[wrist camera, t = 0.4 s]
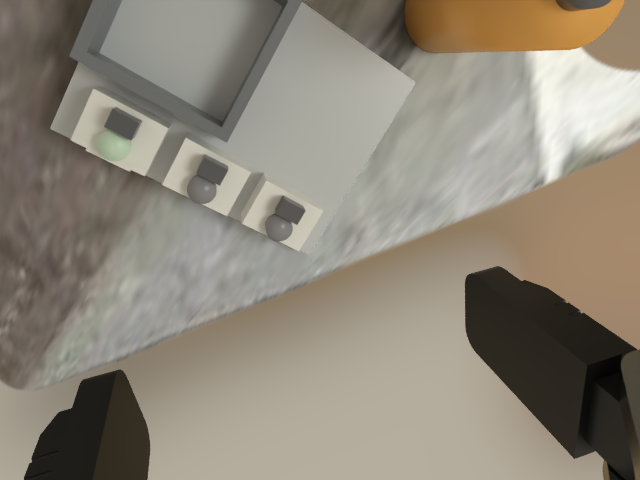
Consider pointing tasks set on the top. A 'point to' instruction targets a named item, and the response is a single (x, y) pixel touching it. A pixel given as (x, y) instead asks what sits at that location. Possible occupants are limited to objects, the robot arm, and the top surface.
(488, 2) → the orange thermos flask
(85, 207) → the top surface
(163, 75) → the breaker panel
